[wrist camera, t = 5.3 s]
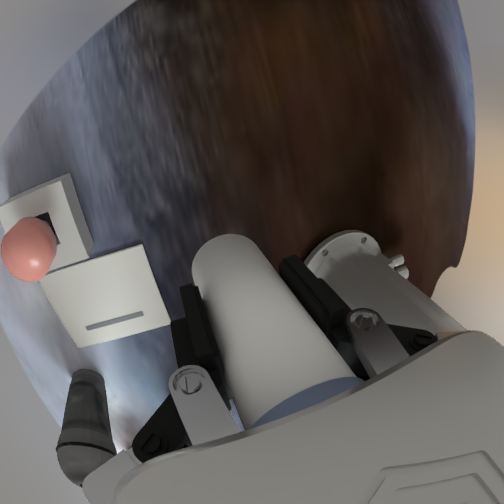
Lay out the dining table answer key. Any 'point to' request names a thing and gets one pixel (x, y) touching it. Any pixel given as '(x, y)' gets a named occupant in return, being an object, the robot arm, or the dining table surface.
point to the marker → (264, 334)
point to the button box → (53, 217)
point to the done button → (29, 249)
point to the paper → (106, 297)
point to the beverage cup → (85, 428)
